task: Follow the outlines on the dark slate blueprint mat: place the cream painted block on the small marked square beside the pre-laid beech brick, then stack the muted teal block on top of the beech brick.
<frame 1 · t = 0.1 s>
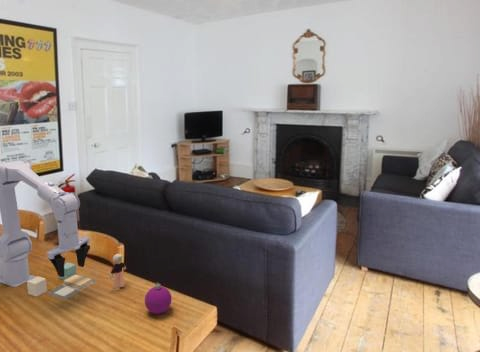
hand: (71, 270, 119), 10 cm above the table, tool pointing down, fingers open, 7 cm apart
beech brick: (77, 283, 129), resting on slate mat
christmas ornament: (158, 311, 115), on the table
cream block: (37, 293, 123), on the table
slate mat: (73, 287, 128), on the table
grandmother figurine: (119, 287, 128), on the table
teal block: (68, 278, 134), on the table
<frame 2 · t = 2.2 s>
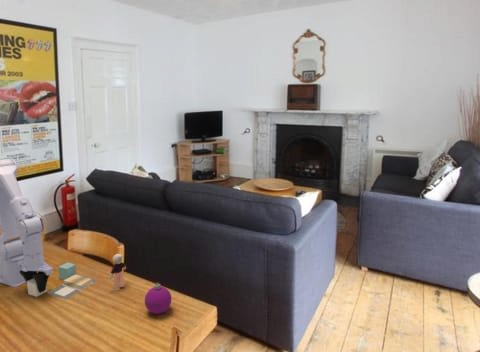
hand: (37, 289, 123), 1 cm above the table, tool pointing down, fingers closed on cream block, 4 cm apart
cream block: (37, 293, 123), on the table, touching gripper
everything else where it was.
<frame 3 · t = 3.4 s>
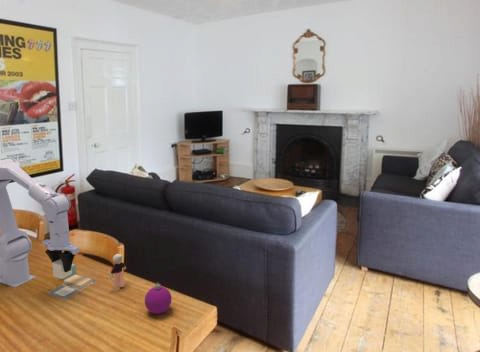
hand: (62, 269, 123), 8 cm above the table, tool pointing down, fingers closed on cream block, 4 cm apart
cream block: (62, 275, 123), point 6 cm above the table, touching gripper
everything else where it was.
when the fingers open (3 cm above the table, at t = 4.7 s): cream block stays where it is, resting on slate mat.
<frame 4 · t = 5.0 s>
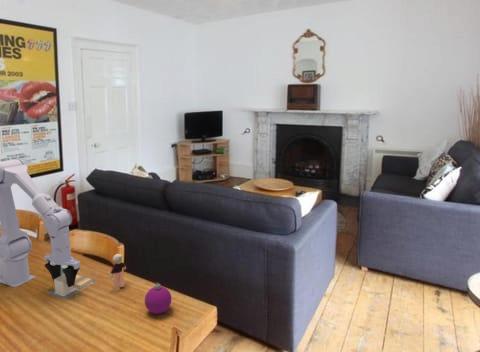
hand: (64, 283, 124), 3 cm above the table, tool pointing down, fingers open, 6 cm apart
cream block: (64, 291, 124), resting on slate mat
everything else where it was.
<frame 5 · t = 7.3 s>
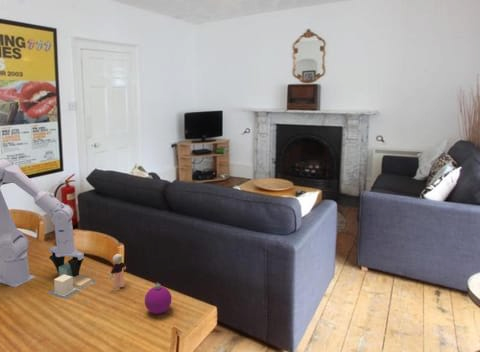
hand: (68, 274, 134), 2 cm above the table, tool pointing down, fingers open, 7 cm apart
beech brick: (77, 283, 129), resting on slate mat, touching gripper
everything else where it was.
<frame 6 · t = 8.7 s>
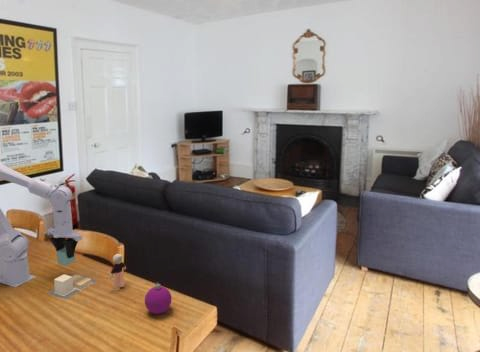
hand: (66, 256, 132), 9 cm above the table, tool pointing down, fingers closed on teal block, 4 cm apart
beech brick: (77, 283, 129), resting on slate mat
teal block: (66, 262, 133), point 6 cm above the table, touching gripper
everything else where it was.
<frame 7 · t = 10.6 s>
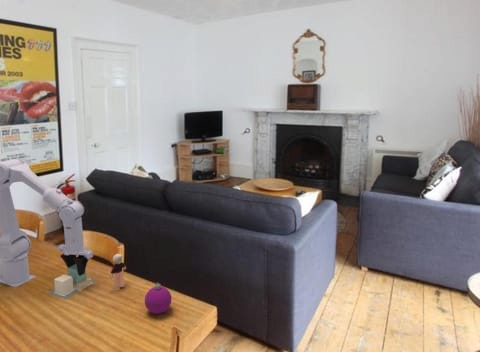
hand: (76, 273, 128), 5 cm above the table, tool pointing down, fingers closed on teal block, 4 cm apart
beech brick: (77, 283, 129), resting on slate mat, touching teal block
teal block: (77, 279, 129), point 2 cm above the table, touching beech brick, gripper
everything else where it was.
when the fingers open (5 cm above the table, at t = 10.8 s): teal block stays where it is, resting on beech brick.
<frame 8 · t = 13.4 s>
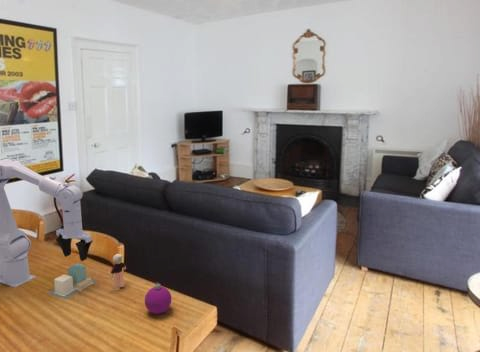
hand: (75, 257, 127), 10 cm above the table, tool pointing down, fingers open, 7 cm apart
teal block: (77, 279, 129), point 2 cm above the table, touching beech brick
everything else where it was.
at the end: teal block 0.1 cm off-centre on the beech brick, point 1.6 cm above the beech brick's base; teal block tilted 0°; cream block 0.1 cm from the target spot, resting on slate mat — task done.
